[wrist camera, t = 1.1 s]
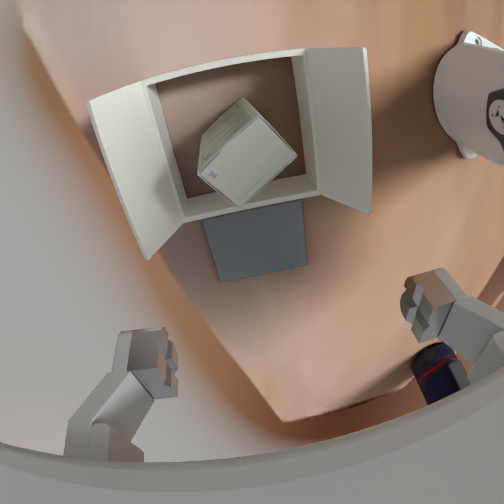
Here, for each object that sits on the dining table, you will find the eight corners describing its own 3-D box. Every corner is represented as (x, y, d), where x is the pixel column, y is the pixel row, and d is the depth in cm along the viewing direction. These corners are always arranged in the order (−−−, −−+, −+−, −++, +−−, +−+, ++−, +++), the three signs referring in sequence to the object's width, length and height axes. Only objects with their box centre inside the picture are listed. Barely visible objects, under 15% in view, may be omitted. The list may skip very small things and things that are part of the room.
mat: (300, 198, 37) (301, 200, 36) (305, 261, 43) (306, 264, 42) (202, 218, 37) (201, 220, 36) (220, 279, 43) (220, 282, 42)
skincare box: (228, 160, 33) (237, 213, 23) (199, 134, 31) (193, 176, 21) (271, 121, 31) (301, 158, 21) (242, 93, 29) (259, 113, 19)
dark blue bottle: (438, 360, 70) (480, 448, 46) (403, 372, 70) (443, 469, 46) (456, 329, 62) (510, 426, 38) (420, 341, 62) (472, 451, 38)
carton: (325, 47, 26) (367, 47, 18) (336, 173, 35) (372, 213, 28) (119, 87, 26) (84, 102, 18) (158, 210, 35) (144, 261, 28)
